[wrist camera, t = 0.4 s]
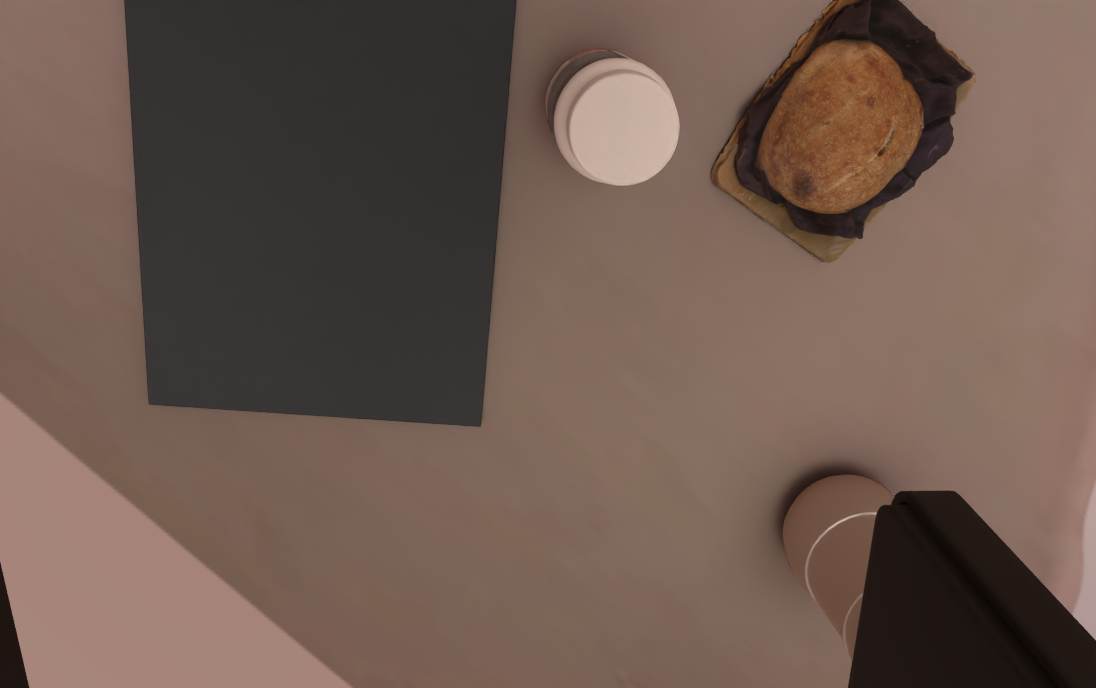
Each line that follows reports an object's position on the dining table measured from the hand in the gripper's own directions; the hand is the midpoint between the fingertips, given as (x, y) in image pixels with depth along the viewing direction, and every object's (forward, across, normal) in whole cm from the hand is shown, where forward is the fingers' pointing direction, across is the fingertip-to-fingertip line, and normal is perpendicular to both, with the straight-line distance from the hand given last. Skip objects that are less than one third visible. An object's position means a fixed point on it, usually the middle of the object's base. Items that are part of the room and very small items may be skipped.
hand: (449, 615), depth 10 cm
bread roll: (+33, -16, -1) cm, 37 cm away
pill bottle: (+33, -5, -2) cm, 34 cm away
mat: (+33, +7, +3) cm, 34 cm away
